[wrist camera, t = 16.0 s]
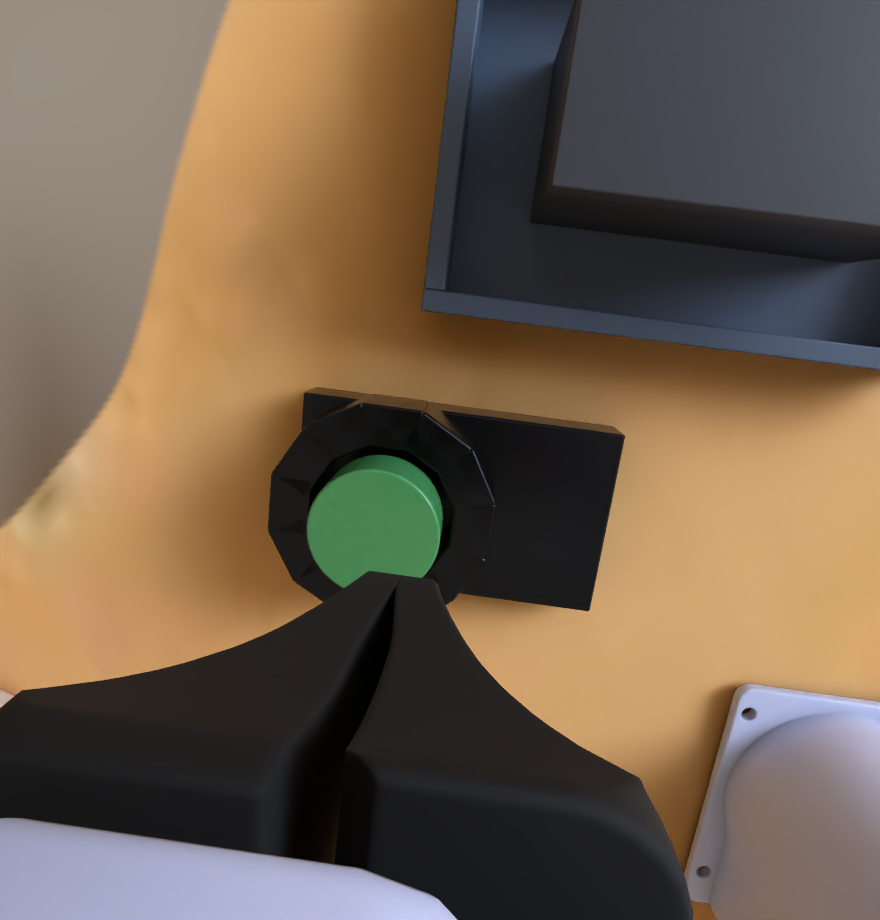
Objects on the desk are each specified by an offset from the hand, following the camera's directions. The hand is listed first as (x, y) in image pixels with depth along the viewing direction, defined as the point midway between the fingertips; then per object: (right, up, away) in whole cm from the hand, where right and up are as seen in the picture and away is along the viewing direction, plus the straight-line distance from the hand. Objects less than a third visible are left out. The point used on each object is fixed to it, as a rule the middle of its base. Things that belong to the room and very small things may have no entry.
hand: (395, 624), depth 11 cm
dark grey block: (+9, +12, +7) cm, 16 cm away
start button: (-1, +1, +7) cm, 7 cm away
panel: (+1, +2, +10) cm, 10 cm away
